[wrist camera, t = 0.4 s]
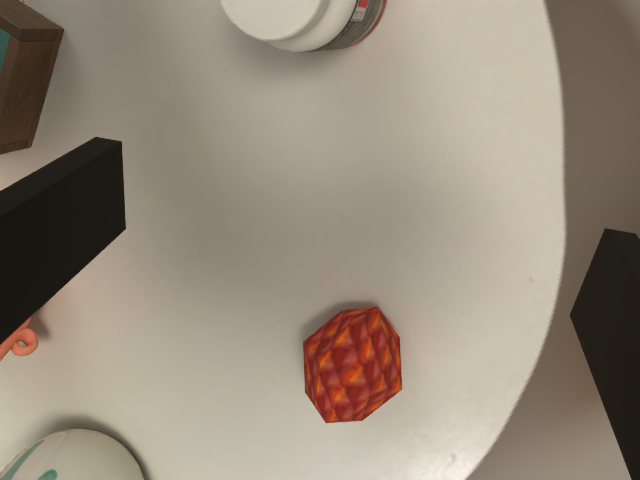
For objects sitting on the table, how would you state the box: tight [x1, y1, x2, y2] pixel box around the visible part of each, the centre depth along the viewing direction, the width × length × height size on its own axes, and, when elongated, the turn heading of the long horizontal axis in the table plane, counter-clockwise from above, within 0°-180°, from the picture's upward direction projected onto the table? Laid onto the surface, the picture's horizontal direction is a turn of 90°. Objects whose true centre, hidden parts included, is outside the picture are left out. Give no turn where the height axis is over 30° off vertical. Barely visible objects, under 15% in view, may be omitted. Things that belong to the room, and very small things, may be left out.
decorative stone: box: [303, 307, 402, 423], centre depth 36 cm, size 6×7×8 cm
